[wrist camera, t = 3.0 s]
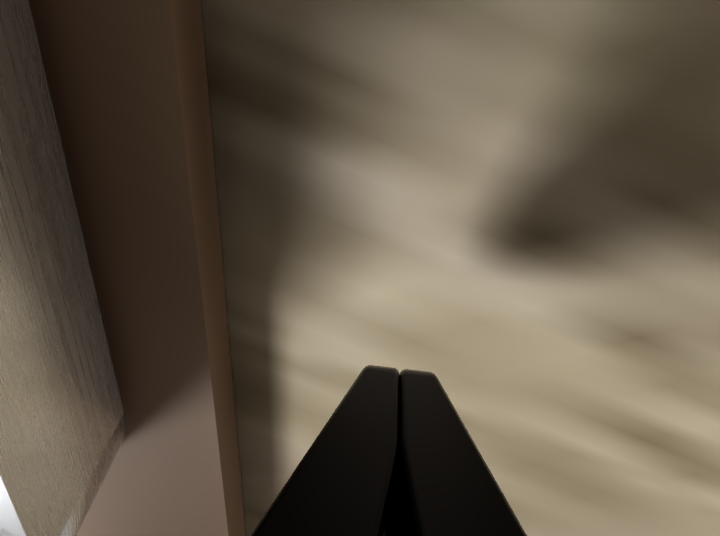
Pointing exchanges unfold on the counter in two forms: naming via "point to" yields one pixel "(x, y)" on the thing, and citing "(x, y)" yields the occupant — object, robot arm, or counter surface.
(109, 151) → the board
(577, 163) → the counter surface
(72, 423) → the link
